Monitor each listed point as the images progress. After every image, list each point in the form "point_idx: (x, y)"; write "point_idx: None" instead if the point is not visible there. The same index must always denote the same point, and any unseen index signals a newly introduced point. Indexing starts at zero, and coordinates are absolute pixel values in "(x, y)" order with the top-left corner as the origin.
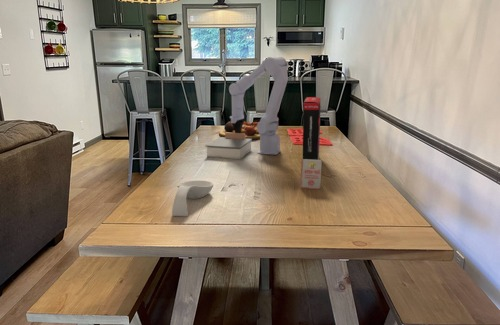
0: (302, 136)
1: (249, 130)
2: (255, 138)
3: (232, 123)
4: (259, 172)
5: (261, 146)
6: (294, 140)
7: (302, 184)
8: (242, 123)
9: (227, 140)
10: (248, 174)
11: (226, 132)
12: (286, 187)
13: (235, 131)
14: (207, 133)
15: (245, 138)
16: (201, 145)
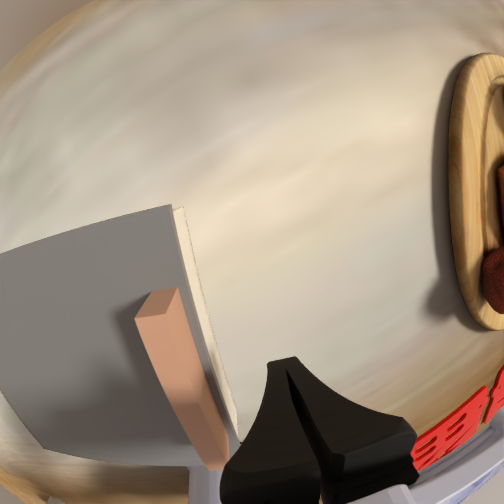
0: (477, 413)
1: (502, 289)
2: (466, 305)
3: (227, 474)
4: (37, 459)
5: (191, 481)
6: (430, 436)
7: (50, 501)
8: (322, 500)
9: (86, 355)
10: (11, 440)
11: (167, 320)
12: (34, 483)
13: (270, 389)
14: (459, 3)
15: (235, 435)
16: (189, 34)
